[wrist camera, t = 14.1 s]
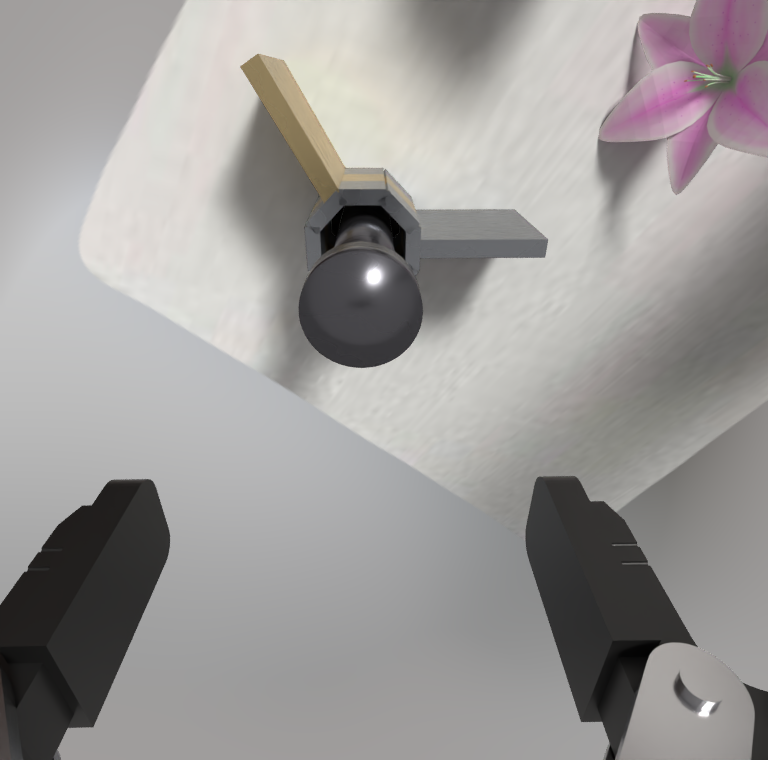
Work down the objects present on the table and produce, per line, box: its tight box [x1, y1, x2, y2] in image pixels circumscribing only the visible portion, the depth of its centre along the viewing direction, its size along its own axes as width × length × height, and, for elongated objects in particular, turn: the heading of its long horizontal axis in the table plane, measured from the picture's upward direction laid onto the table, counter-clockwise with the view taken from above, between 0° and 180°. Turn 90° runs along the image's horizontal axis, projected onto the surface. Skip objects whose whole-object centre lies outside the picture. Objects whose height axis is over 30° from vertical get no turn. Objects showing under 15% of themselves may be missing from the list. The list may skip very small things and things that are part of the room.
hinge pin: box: [299, 205, 423, 368], centre depth 27 cm, size 5×5×16 cm
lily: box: [598, 0, 768, 195], centre depth 27 cm, size 11×11×9 cm
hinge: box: [241, 54, 548, 276], centre depth 29 cm, size 15×12×8 cm
